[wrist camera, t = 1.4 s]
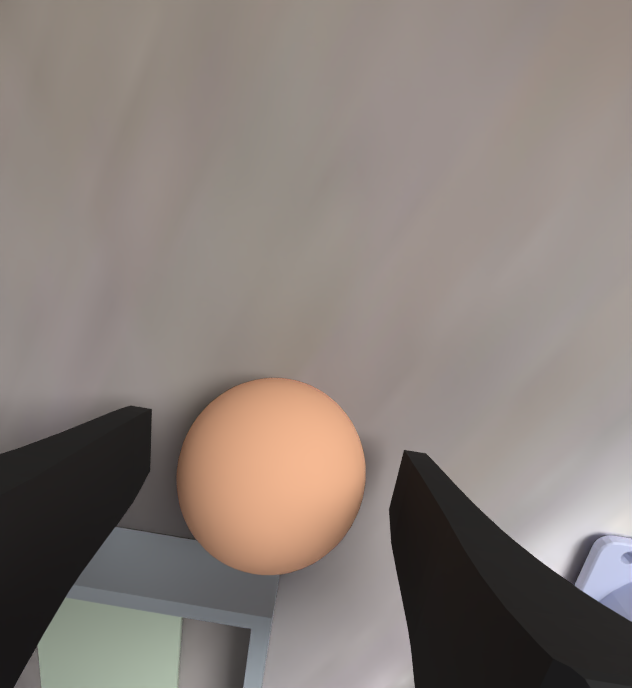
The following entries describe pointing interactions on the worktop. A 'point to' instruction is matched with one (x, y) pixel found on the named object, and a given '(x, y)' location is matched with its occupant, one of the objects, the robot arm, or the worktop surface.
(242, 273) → the worktop surface
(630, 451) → the worktop surface
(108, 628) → the grey shallow square tray
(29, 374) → the worktop surface
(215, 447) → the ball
